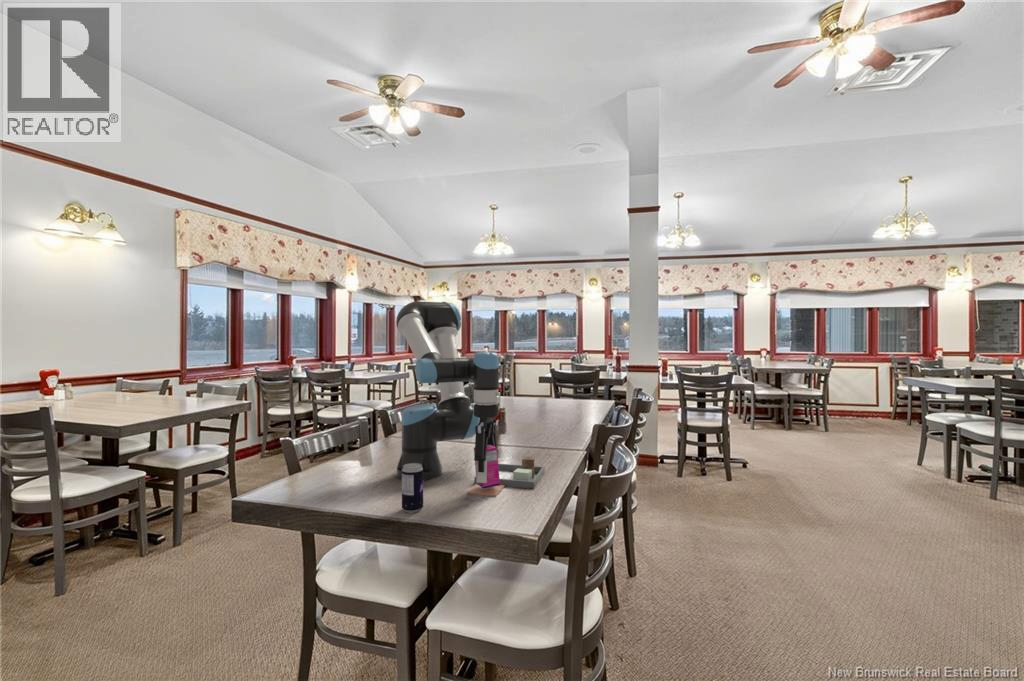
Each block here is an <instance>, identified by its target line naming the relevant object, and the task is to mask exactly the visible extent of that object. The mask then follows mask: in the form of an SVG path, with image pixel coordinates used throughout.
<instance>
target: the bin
mask: <svg viewBox="0 0 1024 681" xmlns="http://www.w3.org/2000/svg"><path fill="white" fill-rule="evenodd" d="M498 467H499V471H511V472H514V471H515V470H516V469H517V468H519V469H522V464H509V463H498ZM545 468H546V467H545V466H538V465H534V474H535V473H537V474H536V476H534V478H533V479H532V481H524V480H513V479H511V478H510V479H509V478H500V485H505V487H512V488H522V489H524V488H525V489H536V487H537V485H538V484H539V482H540V480H541V479H542V477H543V476H544V475H545V472H546V470H545ZM473 482H474V485H475V484H476V475H475V476H474V479H473Z"/></svg>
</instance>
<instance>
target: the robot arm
mask: <svg viewBox="0 0 1024 681" xmlns="http://www.w3.org/2000/svg"><path fill="white" fill-rule="evenodd" d="M461 321H462V316H461V312H460V309H459V308H458V306H457V304H455V303H453V302H446V301H442V302H441V301H440V302H439V301H418V300H417V301H411V302H409V303H406V305H404V306H402V308H401V309H400V310H399V311H398V313H397V316H396V319H395V324H396V328H397V330H398V332H399V334H400V335H401V336H403V337H404V338H405V340H406V342H407V344H408V345H409V347H410V350H411V352H412V354H413V356H414V358H415V360H416V363H415V367H414V372H415V373H414V374H415V379H416V381H417V382H418V383H420V384H430V385H431V384H438V386H439V392H440V398H441V399H440V401H439V402H438V403H437V404H436V403H432V402H431V403H428V402H427V403H420V404H416V405H411V406H408V407H406V408H405V409H403V411H402V413H401V423H400V425H401V455H400V457H399V460H398V464H397V467H396V472H395V473H396V474H395V475H396V477H397V478H398V479H400V480H402V469H403V466H404V465H405V464H409V463H419V464H421V465H422V468H423V481H427V480H432V479H436V478H439V477H440V476H441V475H442V474H443V466H442V463H441V460H440V456H439V454H438V448H437V446H438V445H437V444H438V442H446V441H447V442H448V441H455V440H456V441H457V440H458V441H459V440H461V441H462V440H464V439H465V440H466V439H470V438H473V437H474V436H475V437H474V438H475V440H474V443H475V444H474V447H475V457H473V461H474V462H475V461H477V483H487V460H486V451H487V445H492V446H494V447H496V448H497V454H498V451H499V450H498V439H497V438H498V437H497V419H496V417H498V416H499V414H500V408H499V406H500V405H499V404H498V403H499V396H501V392H499V383H500V382H499V369H500V368H499V367H500V363H499V354H498V353H497V352H495V351H494V352H489V351H488V352H486V351H485V352H475V353H474V355H473V356H471V357H469V356H467V357H459V354H458V349H457V348H458V347H457V342H456V336H457V335H458V332H459V331H460V330H461V327H462V322H461ZM464 382H465V383H466V382H473V402H474V404H473V403H472V402H471V398H470V397H469V396H467V395H466V393H465V387H464Z"/></svg>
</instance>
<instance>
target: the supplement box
mask: <svg viewBox="0 0 1024 681" xmlns="http://www.w3.org/2000/svg"><path fill="white" fill-rule="evenodd" d="M497 450H498V447H497V448H496V447H494V446H492V445H487V451H486V460H487V483H477V461H474V466H475V467H474V470H475V476H476V483H477V485H479V486H480V487H482V488H489V487H494V486H499V485H500V479H501V478H500V470H499V467H498V464H499V456H498V453H497ZM473 455H474V457H475V446H474V447H473ZM474 457H473V458H474Z"/></svg>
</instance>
